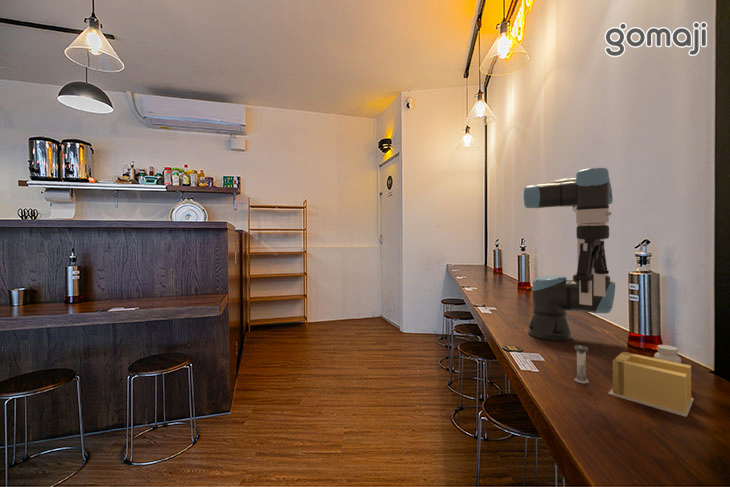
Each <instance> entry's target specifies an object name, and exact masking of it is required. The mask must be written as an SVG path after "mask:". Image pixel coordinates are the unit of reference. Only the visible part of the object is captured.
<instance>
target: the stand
mask: <svg viewBox="0 0 730 487" xmlns="http://www.w3.org/2000/svg"><path fill="white" fill-rule="evenodd" d="M574 349H575V351H576V376H575V377H574V382H575V383H577V384H582V385H588V384H589V379H588V378H587V368H586V367H587V363H586V361H587V360H586V359H587V352H588V351H589V346H587V345H584V344H583V345H582V344H575V345H574Z"/></svg>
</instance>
